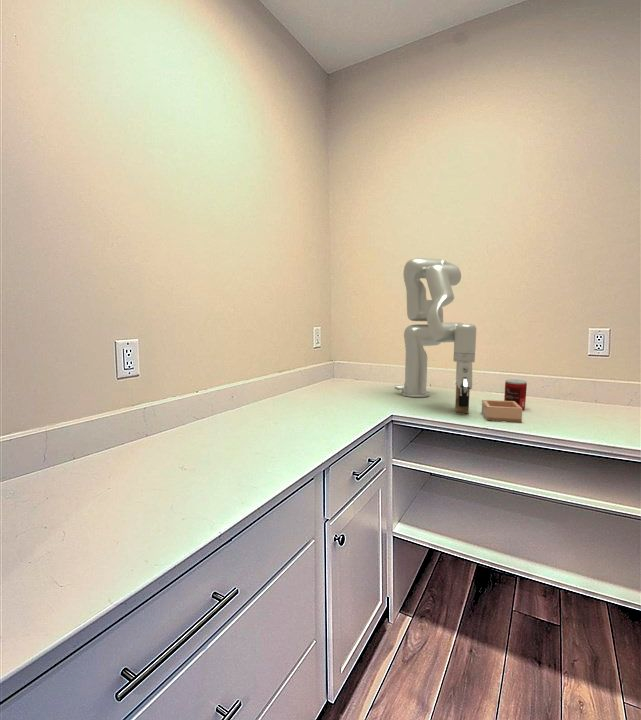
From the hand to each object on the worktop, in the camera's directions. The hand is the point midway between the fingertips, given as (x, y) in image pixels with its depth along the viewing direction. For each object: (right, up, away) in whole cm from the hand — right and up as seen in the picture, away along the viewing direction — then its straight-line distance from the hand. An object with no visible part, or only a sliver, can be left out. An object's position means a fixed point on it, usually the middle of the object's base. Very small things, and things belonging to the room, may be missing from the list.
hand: (462, 403), depth 158 cm
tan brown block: (0, -4, 0) cm, 3 cm away
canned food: (+23, -3, +8) cm, 24 cm away
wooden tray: (+12, -4, -6) cm, 14 cm away
